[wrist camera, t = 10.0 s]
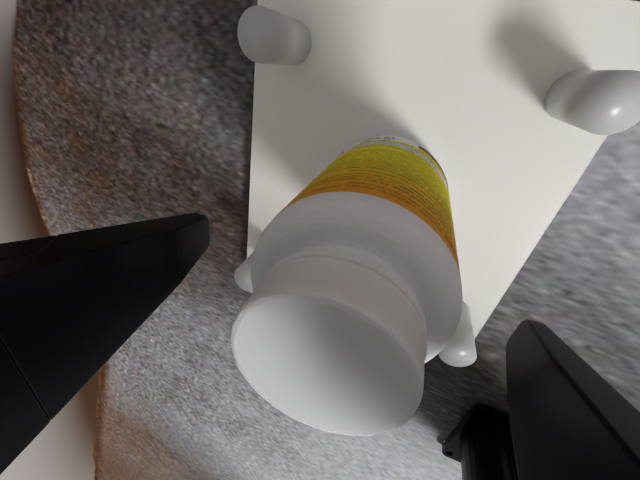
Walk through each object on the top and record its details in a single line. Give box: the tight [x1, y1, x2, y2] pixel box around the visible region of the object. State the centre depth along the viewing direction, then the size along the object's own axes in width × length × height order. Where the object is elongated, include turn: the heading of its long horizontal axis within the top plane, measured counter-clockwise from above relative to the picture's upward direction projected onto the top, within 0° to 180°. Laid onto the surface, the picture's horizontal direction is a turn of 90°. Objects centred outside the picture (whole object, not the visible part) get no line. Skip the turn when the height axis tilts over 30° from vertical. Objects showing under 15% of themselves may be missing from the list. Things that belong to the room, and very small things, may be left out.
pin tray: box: [234, 0, 640, 367], centre depth 14 cm, size 16×14×4 cm
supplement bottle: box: [230, 136, 463, 436], centre depth 10 cm, size 6×6×10 cm
